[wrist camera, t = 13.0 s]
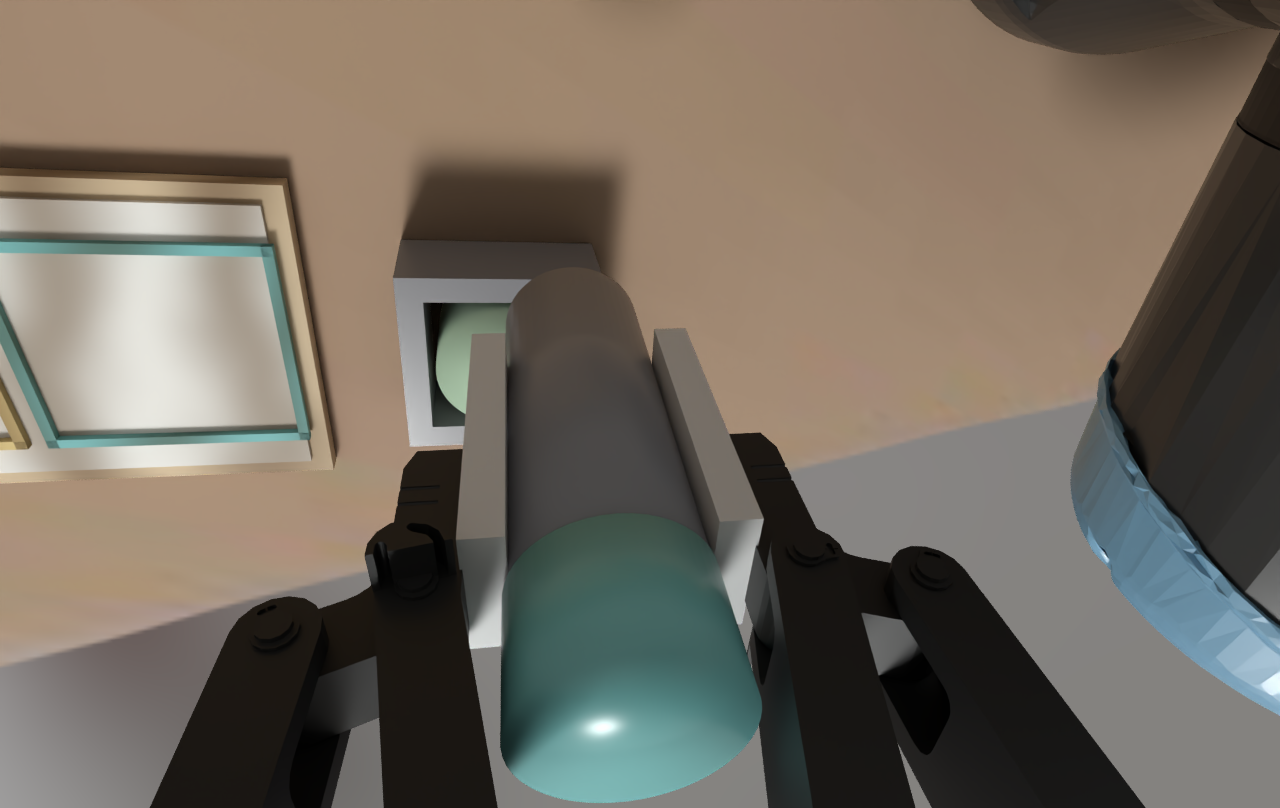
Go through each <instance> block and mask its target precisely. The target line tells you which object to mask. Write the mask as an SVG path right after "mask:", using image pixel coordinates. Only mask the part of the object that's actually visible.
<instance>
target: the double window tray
mask: <svg viewBox="0 0 1280 808" xmlns="http://www.w3.org/2000/svg"><path fill="white" fill-rule="evenodd" d="M335 462H336V454H335V448H334V443H333V437H332V431H331V425H330V420H329V414H328V408H327V403H326V397H325V391H324V386H323V380H322V374H321V369H320V363H319V357H318V352H317V346H316V340H315V335H314V329H313V323H312V318H311V312H310V306H309V300H308V295H307V289H306V283H305V278H304V272H303V266H302V261H301V255H300V249H299V244H298V238H297V232H296V227H295V221H294V215H293V210H292V204H291V198H290V193H289V187H288V181H287V178H266V177H239V176H212V175H185V174H158V173H131V172H104V171H77V170H50V169H23V168H0V483H23V482H47V481H71V480H95V479H119V478H143V477H167V476H191V475H215V474H239V473H263V472H287V471H311V470H334V466H335Z"/></svg>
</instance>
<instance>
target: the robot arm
mask: <svg viewBox="0 0 1280 808" xmlns="http://www.w3.org/2000/svg"><path fill="white" fill-rule="evenodd" d="M971 1H972V2H973V3H974V5H975V6H976V7H977V8H978V9H979V10H980V11H981V12H982V13H983V14H984V15H985V16H986V17H987V18H988V19H989V20H990V21H992V22H993V23H994V24H995V25H997V26H998V27H1000V28H1001V29H1003V30H1005V31H1006V32H1008V33H1010V34H1012V35H1014V36H1016V37H1018V38H1021V39H1024V40H1027V41H1030V42H1033V43H1037V44H1041V45H1045V46H1049V47H1052V48H1056V49H1060V50H1064V51H1068V52H1073V53H1080V54H1097V55H1106V54H1121V53H1128V52H1134V51H1139V50H1144V49H1149V48H1154V47H1159V46H1164V45H1169V44H1173V43H1178V42H1183V41H1188V40H1193V39H1198V38H1203V37H1208V36H1213V35H1218V34H1223V33H1228V32H1232V31H1237V30H1242V29H1247V28H1252V27H1260V28H1268V29H1274V30H1280V0H971ZM652 367H653V370H654V373H655V376H656V379H657V383H658V386H659V389H660V392H661V395H662V398H663V402H664V405H665V408H666V411H667V414H668V417H669V421H670V424H671V427H672V430H673V433H674V436H675V439H676V443H677V446H678V449H679V452H680V455H681V458H682V462H683V465H684V468H685V471H686V474H687V477H688V481H689V484H690V487H691V490H692V493H693V496H694V499H695V503H696V506H697V509H698V512H699V515H700V518H701V522H702V525H703V528H704V531H705V534H706V537H707V541H708V544H709V547H710V548H711V549H712V551H713V553H714V555H715V557H716V559H717V562H718V565H719V568H720V572H721V575H722V578H723V581H724V584H725V587H726V590H727V593H728V596H729V600H730V603H731V606H732V609H733V612H734V615H735V618H736V621H737V624H742V622H743V617H744V612H745V607H746V606H747V609H748V612H749V615H750V618H751V620H752V623H753V627H752V632H751V636H750V641H749V645H748V650H747V656H748V659H749V662H750V665H751V664H752V669H753V674H754V677H755V680H756V684H757V687H758V690H759V693H760V696H761V700H762V714H761V719H760V722H759V729H760V738H761V746H762V756H763V764H764V773H765V782H766V791H767V799H768V808H915V804H914V801H913V798H912V793H911V790H910V786H909V783H908V779H907V775H906V772H905V768H904V765H903V761H902V757H901V754H900V750H899V747H898V744H899V746H900V748H901V750H902V752H903V754H904V756H905V758H906V759H907V761H908V763H909V765H910V767H911V769H912V771H913V773H914V775H915V776H916V779H917V780H918V782H919V784H920V786H921V788H922V790H923V792H924V794H925V796H926V798H927V800H928V801H929V803H930V805H931V807H932V808H1145V806H1144V805H1143V804H1142V803H1141V801H1140V800H1139V799H1138V797H1137V796H1136V795H1135V793H1134V792H1133V791H1132V790H1131V788H1130V787H1129V785H1128V784H1127V783H1126V781H1125V780H1124V779H1123V777H1122V776H1121V775H1120V773H1119V772H1118V771H1117V770H1116V768H1115V767H1114V766H1113V764H1112V763H1111V762H1110V761H1109V759H1108V758H1107V756H1106V755H1105V754H1104V752H1103V751H1102V750H1101V748H1100V747H1099V746H1098V745H1097V743H1096V742H1095V741H1094V739H1093V738H1092V737H1091V735H1090V734H1089V733H1088V732H1087V730H1086V729H1085V727H1084V726H1083V725H1082V723H1081V722H1080V721H1079V719H1078V718H1077V717H1076V716H1075V714H1074V713H1073V712H1072V711H1071V709H1070V708H1069V706H1068V705H1067V704H1066V702H1065V701H1064V700H1063V698H1062V697H1061V696H1060V695H1059V693H1058V692H1057V690H1056V689H1055V688H1054V687H1053V685H1052V684H1051V683H1050V681H1049V680H1048V679H1047V677H1046V676H1045V675H1044V674H1043V672H1042V671H1041V669H1040V668H1039V667H1038V665H1037V664H1036V663H1035V661H1034V660H1033V659H1032V657H1031V656H1030V655H1029V654H1028V652H1027V651H1026V650H1025V648H1024V647H1023V646H1022V644H1021V643H1020V642H1019V640H1018V639H1017V638H1016V636H1015V635H1014V634H1013V633H1012V631H1011V630H1010V628H1009V627H1008V626H1007V625H1006V623H1005V622H1004V621H1003V619H1002V618H1001V617H1000V615H999V614H998V613H997V611H996V610H995V609H994V607H993V606H992V605H991V603H990V602H989V601H988V599H987V598H986V597H985V596H984V594H983V593H982V592H981V590H980V589H979V588H978V586H977V585H976V584H975V582H974V581H973V580H972V578H971V577H970V576H969V574H968V573H967V572H966V571H965V569H964V568H963V567H962V566H960V564H959V563H957V561H955V559H953V558H952V557H950V556H948V555H946V554H945V553H943V552H941V551H939V550H935V549H932V548H928V547H922V546H910V547H907V548H904V549H901V550H899V551H898V552H897V553H896V555H895V556H894V557H893V558H892V561H891V563H888V562H883V561H877V560H871V559H866V558H861V557H857V556H853V555H850V554H847V553H845V552H843V550H842V548H841V546H840V544H839V543H838V542H837V541H836V540H834V539H833V538H832V537H831V536H830V535H828V534H826V533H824V532H822V531H820V530H818V529H817V528H816V527H815V524H814V522H813V520H812V518H811V516H810V514H809V512H808V510H807V508H806V506H805V504H804V502H803V500H802V498H801V496H800V494H799V492H798V490H797V488H796V486H795V484H794V481H792V480H791V475H790V473H789V471H788V469H787V467H785V463H784V461H783V459H782V457H781V455H780V453H779V451H778V449H777V447H776V446H775V445H774V444H773V443H772V442H770V441H769V440H768V439H767V438H766V437H765V436H763V435H762V434H761V433H743V434H729V433H728V431H727V428H726V426H725V423H724V421H723V418H722V416H721V414H720V411H719V409H718V406H717V404H716V401H715V399H714V397H713V394H712V392H711V389H710V387H709V384H708V382H707V380H706V377H705V375H704V372H703V370H702V367H701V365H700V363H699V360H698V358H697V355H696V353H695V350H694V348H693V346H692V343H691V341H690V338H689V336H688V333H687V331H686V329H685V328H676V329H654V342H653V355H652ZM1097 397H1098V400H1097V402H1096V404H1095V407H1094V409H1093V412H1092V414H1091V416H1090V419H1089V421H1088V423H1087V426H1086V428H1085V430H1084V432H1083V435H1082V437H1081V440H1080V442H1079V444H1078V447H1077V449H1076V452H1075V454H1074V458H1073V464H1072V468H1071V494H1072V500H1073V505H1074V510H1075V513H1076V516H1077V520H1078V522H1079V525H1080V527H1081V530H1082V532H1083V534H1084V536H1085V538H1086V540H1087V541H1088V543H1089V545H1090V546H1091V548H1092V551H1093V552H1094V553H1095V554H1096V555H1097V556H1098V557H1099V558H1100V560H1101V561H1103V562H1104V563H1105V564H1106V565H1107V567H1108V568H1109V569H1110V570H1111V576H1112V580H1113V582H1114V584H1115V585H1116V587H1117V588H1118V589H1119V590H1120V592H1121V593H1122V594H1123V595H1124V596H1125V597H1126V599H1127V600H1128V601H1129V602H1130V603H1131V604H1132V605H1133V606H1134V607H1135V608H1136V609H1137V610H1138V611H1139V613H1140V614H1141V615H1142V616H1143V617H1144V618H1145V619H1146V620H1147V621H1148V622H1149V623H1150V624H1151V625H1152V626H1153V627H1155V629H1157V630H1158V631H1159V632H1160V633H1161V634H1162V635H1163V636H1164V637H1165V638H1166V639H1168V640H1169V641H1170V642H1171V643H1172V644H1173V645H1175V646H1176V647H1177V648H1178V649H1179V650H1181V651H1182V652H1183V653H1184V654H1185V655H1187V656H1188V657H1189V658H1190V659H1192V660H1193V661H1194V662H1196V663H1197V664H1198V665H1199V666H1201V667H1202V668H1204V669H1205V670H1206V671H1208V672H1209V673H1211V674H1212V675H1214V676H1215V677H1217V678H1218V679H1220V680H1221V681H1223V682H1224V683H1226V684H1227V685H1228V686H1230V687H1232V688H1233V689H1234V690H1236V691H1238V692H1239V693H1241V694H1243V695H1244V696H1246V697H1248V698H1249V699H1251V700H1252V701H1255V702H1256V703H1258V704H1260V705H1262V706H1263V707H1265V708H1267V709H1268V710H1271V711H1272V712H1274V713H1276V714H1278V715H1280V33H1279V35H1278V36H1277V38H1276V40H1275V42H1274V44H1273V46H1272V48H1271V50H1270V52H1269V54H1268V56H1267V60H1266V62H1265V64H1264V66H1263V68H1262V70H1261V72H1260V74H1259V76H1258V78H1257V80H1256V82H1255V84H1254V86H1253V88H1252V90H1251V92H1250V94H1249V96H1248V98H1247V100H1246V102H1245V104H1244V106H1243V108H1242V110H1241V112H1240V113H1239V115H1238V116H1237V117H1236V119H1235V121H1234V123H1233V125H1232V127H1231V129H1230V131H1229V133H1228V135H1227V137H1226V139H1225V141H1224V143H1223V145H1222V147H1221V149H1220V151H1219V153H1218V155H1217V157H1216V159H1215V161H1214V163H1213V165H1212V167H1211V169H1210V171H1209V173H1208V175H1207V177H1206V179H1205V181H1204V183H1203V185H1202V187H1201V189H1200V191H1199V193H1198V195H1197V197H1196V199H1195V201H1194V203H1193V205H1192V207H1191V209H1190V211H1189V213H1188V215H1187V217H1186V219H1185V221H1184V223H1183V225H1182V227H1181V229H1180V231H1179V233H1178V235H1177V237H1176V239H1175V241H1174V243H1173V245H1172V247H1171V249H1170V251H1169V253H1168V254H1167V256H1166V258H1165V260H1164V262H1163V264H1162V266H1161V268H1160V270H1159V272H1158V274H1157V276H1156V278H1155V280H1154V282H1153V284H1152V286H1151V288H1150V290H1149V292H1148V294H1147V296H1146V298H1145V300H1144V302H1143V304H1142V306H1141V308H1140V310H1139V312H1138V314H1137V316H1136V318H1135V320H1134V322H1133V324H1132V326H1131V328H1130V330H1129V332H1128V334H1127V336H1126V338H1125V340H1124V342H1123V344H1122V346H1121V348H1119V349H1118V350H1117V351H1116V352H1115V354H1114V355H1113V356H1112V357H1111V359H1110V360H1109V361H1108V363H1107V366H1106V369H1105V371H1104V372H1103V374H1102V376H1101V377H1100V378H1099V382H1098V391H1097ZM365 560H366V564H367V569H368V573H369V577H370V581H371V586H370V587H369V588H368V589H366V590H364V591H363V592H361V593H360V594H358V595H356V596H354V597H351V598H349V599H347V600H344V601H341V602H338V603H336V604H333V605H330V606H326V607H323V608H320V609H318V608H317V606H316V605H315V604H313V603H312V602H310V601H308V600H307V599H305V598H298V597H283V598H277V599H271V600H269V601H266V602H264V603H262V604H260V605H257V606H255V607H253V608H252V609H251V610H250V611H248V612H247V613H246V614H244V615H243V616H242V617H241V618H239V619H238V621H237V622H236V624H235V625H234V626H233V628H232V629H231V631H230V632H229V634H228V636H227V638H226V641H225V643H224V645H223V647H222V649H221V652H220V654H219V656H218V658H217V661H216V663H215V665H214V667H213V670H212V671H211V674H210V676H209V678H208V680H207V683H206V685H205V687H204V689H203V691H202V694H201V696H200V698H199V700H198V703H197V705H196V707H195V709H194V711H193V714H192V716H191V718H190V720H189V722H188V724H187V727H186V729H185V731H184V733H183V736H182V738H181V740H180V742H179V744H178V747H177V749H176V751H175V753H174V755H173V758H172V760H171V762H170V764H169V767H168V769H167V771H166V773H165V775H164V777H163V780H162V782H161V784H160V786H159V789H158V791H157V793H156V795H155V798H154V800H153V802H152V804H151V806H150V808H331V806H332V802H333V798H334V794H335V790H336V786H337V782H338V778H339V775H340V771H341V767H342V763H343V759H344V755H345V751H346V747H347V743H348V739H349V735H350V731H351V729H352V728H354V727H357V726H359V725H362V724H364V723H367V722H369V721H371V720H373V719H376V718H379V722H380V742H381V762H382V782H383V802H384V808H498V807H497V801H496V796H495V790H494V784H493V778H492V772H491V767H490V761H489V755H488V749H487V744H486V738H485V733H484V726H483V721H482V715H481V709H480V703H479V698H478V692H477V686H476V680H475V674H474V669H473V663H472V658H471V652H470V649H475V648H486V647H497V646H501V612H502V590H503V586H504V582H505V580H506V577H507V574H508V468H507V353H506V336H505V333H487V334H472V339H471V351H470V364H469V377H468V390H467V403H466V415H465V428H464V441H463V449H454V450H435V451H417V452H416V454H415V455H414V456H413V457H412V459H411V460H410V461H409V462H408V464H407V465H406V466H405V467H404V469H403V475H402V480H401V486H400V492H399V497H398V506H397V508H396V514H395V520H394V523H390V524H389V525H387V526H386V527H384V528H382V529H381V530H379V531H378V532H376V534H375V535H374V536H373V537H372V538H371V540H370V541H369V542H368V543H367V547H366V552H365ZM897 742H898V743H897Z"/></svg>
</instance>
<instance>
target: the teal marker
mask: <svg viewBox="0 0 1280 808" xmlns="http://www.w3.org/2000/svg"><path fill="white" fill-rule="evenodd" d="M506 353H507V468H508V574H507V577H506V580H505V582H504V586H503V590H502V612H501V732H500V734H501V735H500V741H501V742H500V743H501V744H500V748H501V752H502V757H503V759H504V761H505V764H506V766H507V767H508V768H509V770H510V771H511V772H512V774H513V775H514V776H516V777H517V778H518V779H519V780H520V781H521V782H523V783H524V784H526V785H527V786H529V787H531V788H532V789H535V790H537V791H539V792H541V793H544V794H547V795H550V796H553V797H556V798H561V799H565V800H570V801H578V802H590V803H613V802H624V801H632V800H639V799H644V798H648V797H653V796H658V795H661V794H665V793H668V792H671V791H674V790H677V789H680V788H682V787H685V786H688V785H690V784H692V783H694V782H696V781H698V780H701V779H703V778H705V777H706V776H708V775H710V774H712V773H714V772H715V771H717V770H718V769H720V768H721V767H722V766H724V765H726V764H727V763H728V762H729V761H730V760H732V759H733V758H734V757H735V756H737V755H738V754H739V753H740V752H741V751H742V749H743V748H744V747H745V746H746V745H747V744H748V742H749V741H750V740H751V738H752V737H753V735H754V733H755V731H756V730H757V728H758V725H759V722H760V719H761V714H762V700H761V696H760V693H759V690H758V687H757V684H756V680H755V677H754V674H753V671H752V668H751V665H750V662H749V659H748V656H747V652H746V650H745V646H744V643H743V640H742V637H741V634H740V631H739V628H738V624H737V621H736V618H735V615H734V612H733V609H732V606H731V603H730V600H729V596H728V593H727V590H726V587H725V584H724V581H723V578H722V575H721V572H720V568H719V565H718V562H717V559H716V557H715V555H714V553H713V551H712V549H711V548H710V547H709V544H708V541H707V537H706V534H705V531H704V528H703V525H702V522H701V518H700V515H699V512H698V509H697V506H696V503H695V499H694V496H693V493H692V490H691V487H690V484H689V481H688V477H687V474H686V471H685V468H684V465H683V462H682V458H681V455H680V452H679V449H678V446H677V443H676V439H675V436H674V433H673V430H672V427H671V424H670V421H669V417H668V414H667V411H666V408H665V405H664V402H663V398H662V395H661V392H660V389H659V386H658V383H657V379H656V376H655V373H654V370H653V367H652V364H651V360H650V357H649V354H648V351H647V348H646V345H645V342H644V338H643V335H642V332H641V329H640V326H639V323H638V319H637V316H636V313H635V310H634V307H633V304H632V302H631V300H630V298H629V296H628V295H627V293H626V292H625V291H624V289H623V288H622V287H621V286H620V285H619V284H618V283H616V282H615V281H614V280H613V279H611V278H610V277H608V276H606V275H604V274H602V273H600V272H597V271H594V270H591V269H586V268H579V267H567V268H559V269H554V270H551V271H548V272H545V273H543V274H541V275H539V276H537V277H535V278H534V279H532V280H531V281H529V282H528V283H527V284H526V285H525V286H523V288H522V289H521V290H520V291H519V292H518V293H517V295H516V296H515V298H514V299H513V301H512V303H511V305H510V307H509V310H508V313H507V318H506Z"/></svg>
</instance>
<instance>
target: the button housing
mask: <svg viewBox="0 0 1280 808" xmlns="http://www.w3.org/2000/svg"><path fill="white" fill-rule="evenodd" d="M567 267H579V268H586V269H591V270H594V271H597V272H600V273H601V270H600V267H599V265H598V262H597V259H596V256H595V253H594V250H593V247H592V244H582V243H535V242H488V241H441V240H401V241H400V246H399V251H398V256H397V261H396V266H395V271H394V275H393V283H394V293H395V303H396V313H397V323H398V333H399V342H400V352H401V362H402V372H403V382H404V392H405V402H406V411H407V421H408V431H409V441H410V447H411V446H439V445H463V441H464V428H465V415H466V414H464V413H463V412H461V411H460V410H458V409H457V408H456V407H454V406H453V405H452V404H451V403H450V402H449V401H448V400H447V398H446V397H445V396H444V394H443V393H442V391H441V389H440V387H439V384H438V381H437V380H436V371H435V357H434V343H433V329H432V315H431V303H512V301H513V299H514V298H515V296H516V295H517V293H518V292H519V291H520V290H521V289H522V288H523V286H525V285H526V284H527V283H528V282H529V281H531V280H532V279H534V278H535V277H537V276H539V275H541V274H543V273H545V272H548V271H551V270H554V269H559V268H567Z"/></svg>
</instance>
